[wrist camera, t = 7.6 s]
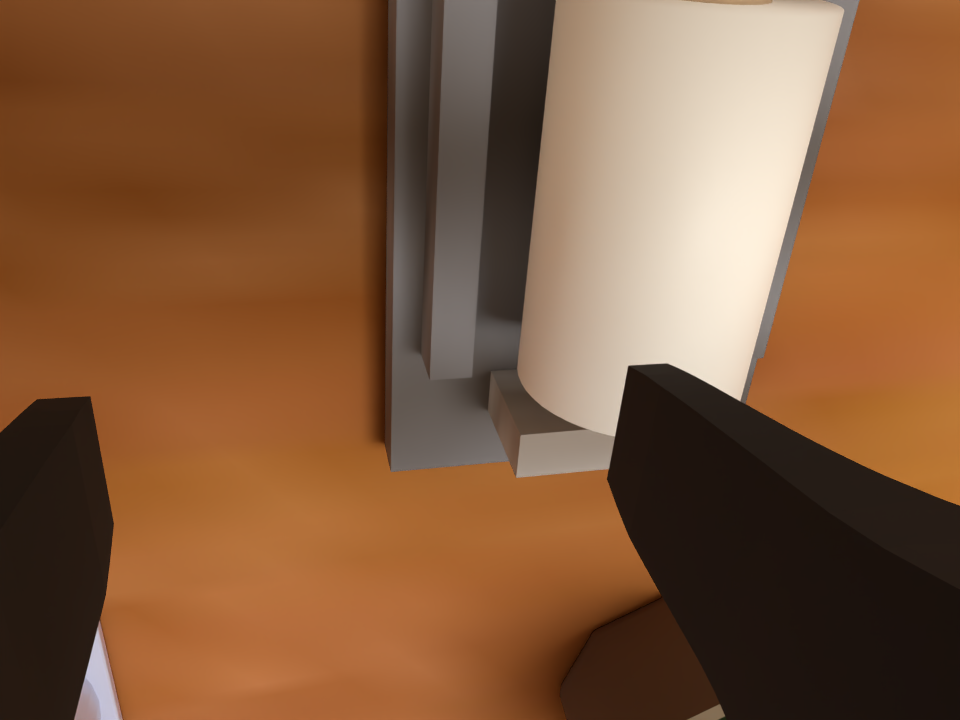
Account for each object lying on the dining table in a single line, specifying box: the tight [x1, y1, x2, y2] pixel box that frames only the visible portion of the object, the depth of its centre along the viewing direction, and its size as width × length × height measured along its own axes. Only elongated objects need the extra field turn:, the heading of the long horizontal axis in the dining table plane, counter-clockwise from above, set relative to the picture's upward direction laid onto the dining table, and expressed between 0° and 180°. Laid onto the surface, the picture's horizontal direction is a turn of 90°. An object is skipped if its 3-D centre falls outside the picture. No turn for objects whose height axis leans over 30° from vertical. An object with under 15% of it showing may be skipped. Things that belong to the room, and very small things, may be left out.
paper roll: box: [517, 0, 844, 436], centre depth 17 cm, size 9×5×5 cm, turn 176°
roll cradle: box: [385, 0, 859, 478], centre depth 18 cm, size 16×10×4 cm, turn 176°
